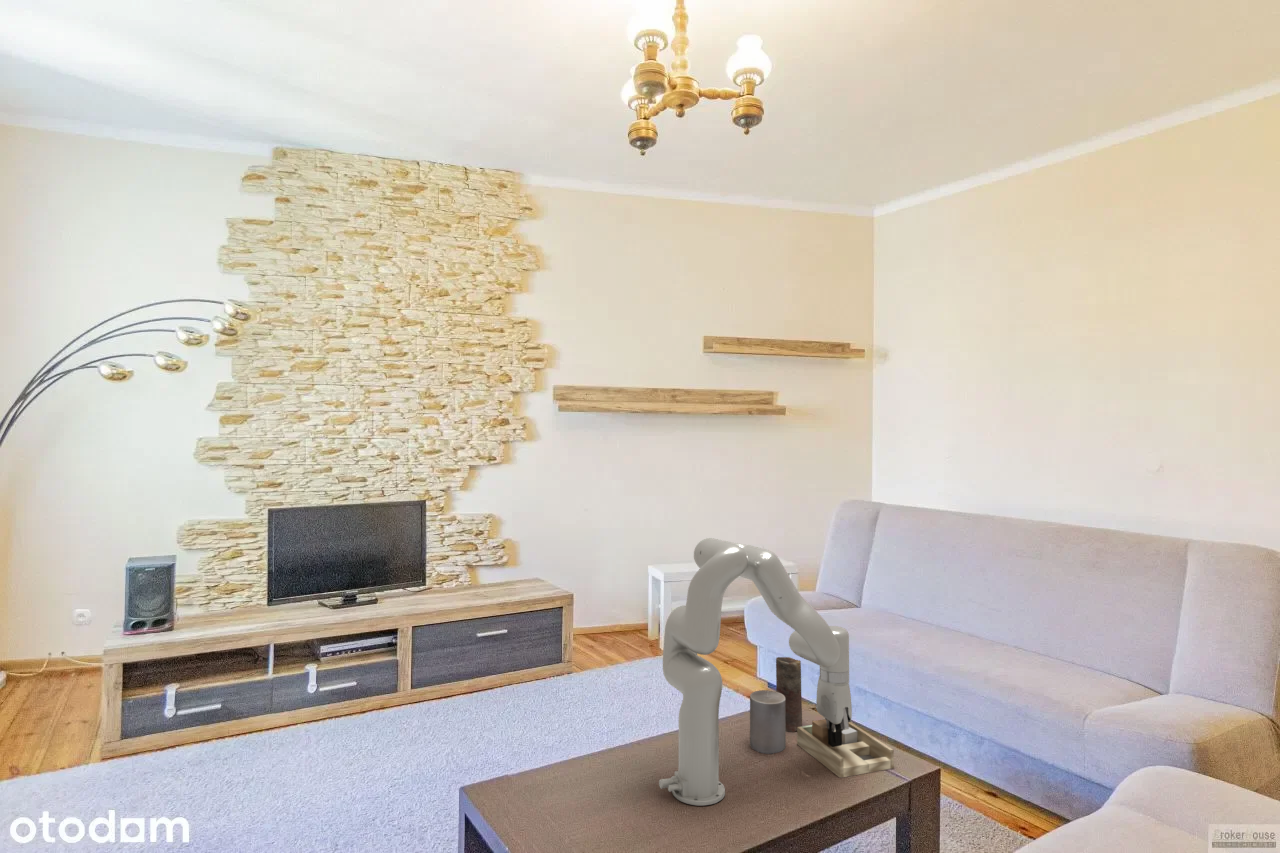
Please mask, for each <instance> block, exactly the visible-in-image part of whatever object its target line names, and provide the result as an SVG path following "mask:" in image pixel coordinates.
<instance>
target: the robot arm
mask: <svg viewBox="0 0 1280 853" xmlns="http://www.w3.org/2000/svg"><path fill="white" fill-rule="evenodd" d="M693 560H694V562H695V565H697V567H698V568H699V569H698V570H697V571H696V573H695V574H694V575H693V576H692V579H691V580H690V582H689V585H688V589H687V596H686V604H685V605H681V606H678V607H676V608H675V609H673V610H672V611H671V613H670V614H669V615H668V618H667V619H666V621H665V627H664V637H663V652H662V672H663V676H664V678H665V680H666V682H667V683H668V684H669V685H670V686H671V687H673V688H674V689H676V690H677V691H678V692H679V693H681V694H682V702H681V704H680V707H679V711H678V770H675V771H674V775H673V776H671V777H669V778H661V779H659V780H658V786H659V789H667V791H668V792H671V793H672V795H673V797H674V799H676V800H678V801H679V802H682V803H684V804H687V805H690V806H699V807H700V806H710V805H714V804H717V803H718V802H720V801H722V800H723V799H724V797H725V795H726V786H724V784H723V783H722V782H721V781H720V780H719V779H720V778H719V768H720V767H719V757H720V756H719V751H720V750H719V746H720V745H719V740H720V739H719V733H720V732H719V731H720V729H719V718H720V717H719V713H720V712H719V711H720V702H721V697H722V691H723V678H722V674H721V672H720V671H719V669H718V668H717V666H715V665H714V664H713V663H712V662H710V661H709V660H707V659H705V658H704V657H702V656H700V655H703V656H705V655H706V656H707V655H710V654H712V653H714V652H715V651H716V649H717V647H718V646H719V643H720V636H721V624H722V623H721V620H722V619H721V618H722V605H723V599H724V595H725V593H726V590H727V589H728V588H729V586H730V585H731V584H732V583H733V582H734V581H735V580H737V579H738V578H739V577H740V578H744V579H747V580H750V581H752V583H753V584H754V585H755V587H756V589H757V590H758V592H759V593H760V595H761V597H762V599H763V600H764V602H765V603H766V605H767V607H768V609H769V610H770V612H771V613H772V614H773V615H775V616H776V618H778V619H779V620H780V621H781V622H783V623H785V624H786V625H787V626H789V627H790V628H791V629H793V631H792V633H791V634H790V636H789V638H788V646H789V649H790V650H791V652H792V653H793V654H794V655H796V656H798V657H800V658H802V659H804V660H806V661H808V662H811V663H814V664H816V665H817V666H819V676H818V680H817V686H816V687H817V688H816V703H815V704H816V712H817V713H818V714H819V715H820V716H822V717H823V718H824V719H826V724H827V728H828V744H829V745H831V746H832V747H835V746H841V745H842V731H843V730H846V729H849V725H848V722H851V723H852V718H853V716H852V714H853V713H852V712H853V711H852V710H853V707H852V695H851V688H850V635H849V631H848V630H847V629H846V628H844V627H842V626H838V625H829V624H828V623H827V621H826V620H825V619H824V618H823V617H822V616H821V614H820V613H819V612H818V611H817V610H816V609H815V608H814V607H813V606H812V605H811V604H810V602H808V601H807V600H806V599H805V598H804V596H802V595H801V593H800V592H799V590H798V589H797V587H796V586H795V584H794V582H793V580H792V579H791V577H790V575H789V574H788V572H787V570H786V568H785V566H784V564H783V563H782V561H781V560H780V558H779V557H778V556H777V554H775V553H774V552H773V551H771V550H769V549H766V548H762V547H757V546H754V545H749V544H742V543H738V542H737V543H736V542H731V541H726V540H723V539H718V538H712V537H709V538H707V537H706V538H704V539H702V540H700V541H699V542H697V544H696V545H695V547H694V550H693ZM838 723H839V724H838Z"/></svg>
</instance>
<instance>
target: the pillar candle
mask: <svg viewBox="0 0 1280 853" xmlns="http://www.w3.org/2000/svg"><path fill="white" fill-rule="evenodd" d="M785 713H786V712H785V696H784V695H783V694H781V693H779V692H776V691H775V690H770V689H768V690H767V689H762V690H761V689H760V690H756V691H752V693H750V694H749V746H750V747H751V749H752V750H753V751H755V752H757V753H761V754H766V755H767V754H769V755H773V754H777V753H781V752H783V751H784V750H785V749H786V747H787V746H786V741H787V740H786V736H787V735H786V733H787V732H786V723H785Z"/></svg>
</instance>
